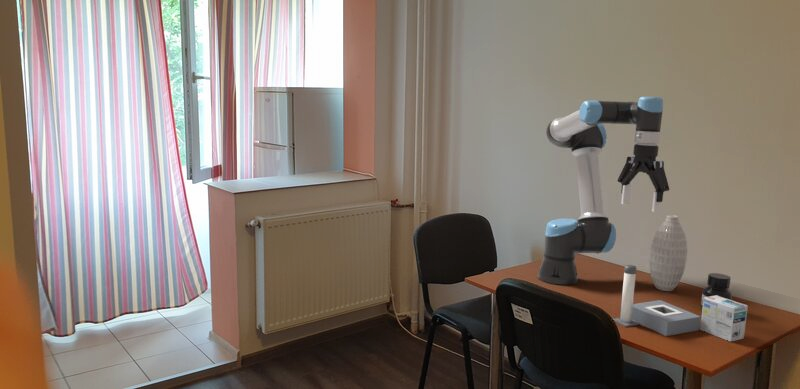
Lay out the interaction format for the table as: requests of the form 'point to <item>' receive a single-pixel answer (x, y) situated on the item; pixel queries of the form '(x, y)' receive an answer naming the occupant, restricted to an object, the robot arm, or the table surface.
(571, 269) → the robot arm
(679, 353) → the table surface
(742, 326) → the light bulb box
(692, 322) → the panel
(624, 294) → the stylus
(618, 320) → the pad
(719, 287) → the ink bottle
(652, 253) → the vase
